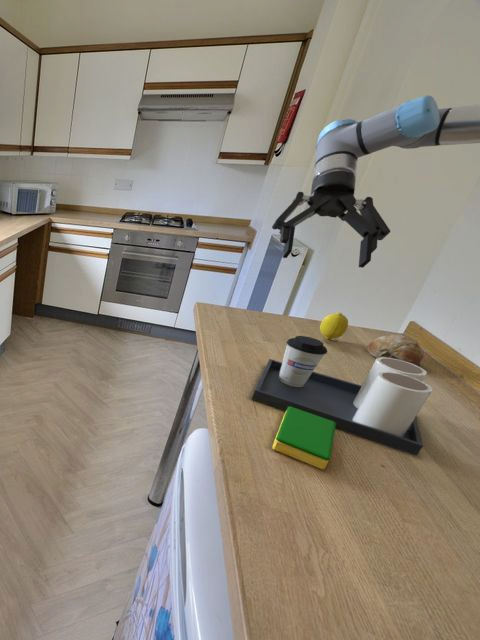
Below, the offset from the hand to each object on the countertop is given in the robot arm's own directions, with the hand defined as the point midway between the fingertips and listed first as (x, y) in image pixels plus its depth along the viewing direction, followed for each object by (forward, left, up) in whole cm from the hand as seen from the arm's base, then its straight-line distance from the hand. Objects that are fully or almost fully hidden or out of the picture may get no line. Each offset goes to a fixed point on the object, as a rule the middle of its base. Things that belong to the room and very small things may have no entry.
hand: (324, 259), depth 88 cm
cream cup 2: (-17, +19, -25) cm, 36 cm away
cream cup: (-17, +11, -25) cm, 32 cm away
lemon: (-8, -29, -26) cm, 40 cm away
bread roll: (-21, -27, -26) cm, 43 cm away
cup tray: (-10, +14, -26) cm, 31 cm away
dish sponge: (-7, +33, -26) cm, 43 cm away
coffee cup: (-3, +10, -25) cm, 27 cm away
